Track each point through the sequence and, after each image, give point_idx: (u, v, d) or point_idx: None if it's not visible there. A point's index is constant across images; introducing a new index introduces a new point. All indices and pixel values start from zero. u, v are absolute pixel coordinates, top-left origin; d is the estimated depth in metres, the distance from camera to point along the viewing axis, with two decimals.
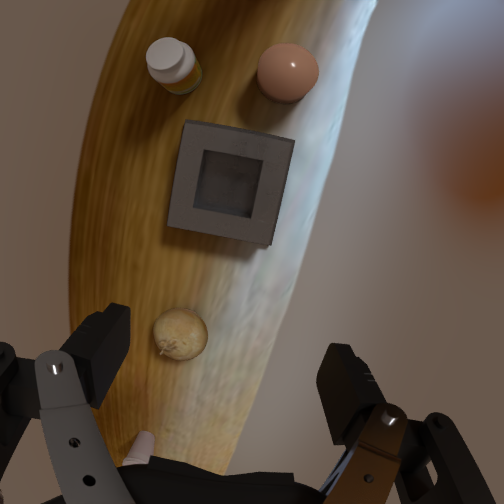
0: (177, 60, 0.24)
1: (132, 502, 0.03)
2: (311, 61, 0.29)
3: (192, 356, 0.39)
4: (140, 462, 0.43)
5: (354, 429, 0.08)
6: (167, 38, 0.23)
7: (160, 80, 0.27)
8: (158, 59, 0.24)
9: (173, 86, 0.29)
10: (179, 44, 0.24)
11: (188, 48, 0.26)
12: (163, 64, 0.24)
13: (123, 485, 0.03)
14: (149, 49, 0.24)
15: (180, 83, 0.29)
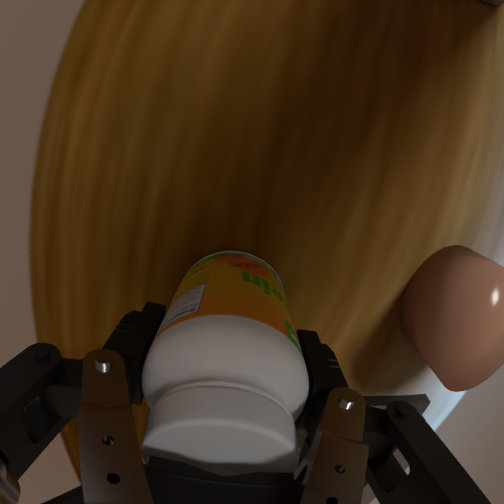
0: None
1: None
2: None
3: None
4: None
5: (313, 413, 0.08)
6: (225, 427, 0.05)
7: None
8: None
9: None
10: (285, 450, 0.06)
11: (295, 375, 0.08)
12: None
13: (147, 488, 0.04)
14: (149, 448, 0.06)
15: None
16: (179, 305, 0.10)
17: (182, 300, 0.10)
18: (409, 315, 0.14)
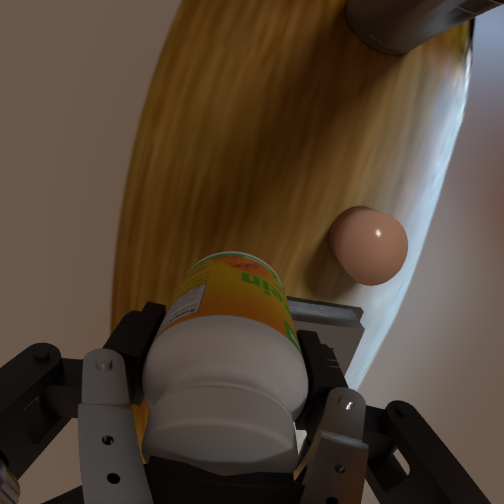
0: None
1: None
2: (402, 238, 0.26)
3: None
4: None
5: (313, 413, 0.08)
6: (224, 427, 0.05)
7: None
8: None
9: None
10: (285, 450, 0.06)
11: (294, 375, 0.08)
12: None
13: (147, 488, 0.04)
14: (150, 448, 0.06)
15: None
16: (179, 305, 0.10)
17: (182, 300, 0.10)
18: (331, 242, 0.30)
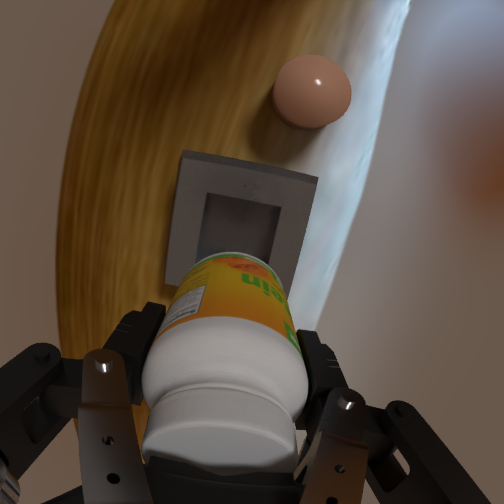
0: None
1: None
2: (342, 79, 0.23)
3: None
4: None
5: (313, 413, 0.08)
6: (224, 429, 0.05)
7: None
8: None
9: None
10: (285, 451, 0.06)
11: (295, 376, 0.08)
12: None
13: (147, 488, 0.04)
14: (149, 449, 0.06)
15: None
16: (179, 306, 0.10)
17: (182, 301, 0.10)
18: (272, 96, 0.27)
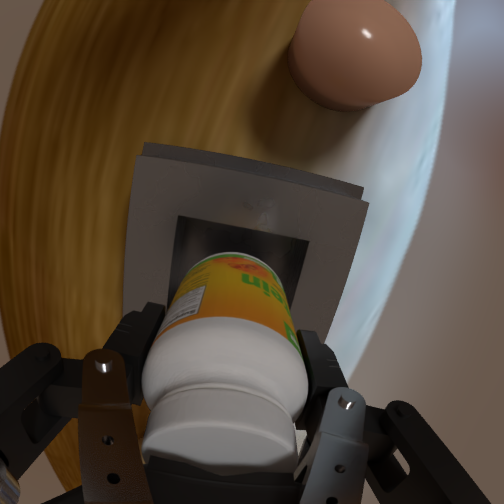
0: None
1: None
2: (407, 32, 0.11)
3: None
4: None
5: (313, 413, 0.08)
6: (224, 429, 0.05)
7: None
8: None
9: None
10: (284, 451, 0.06)
11: (294, 376, 0.08)
12: None
13: (147, 488, 0.04)
14: (149, 449, 0.06)
15: None
16: (179, 307, 0.10)
17: (182, 302, 0.10)
18: (290, 55, 0.15)
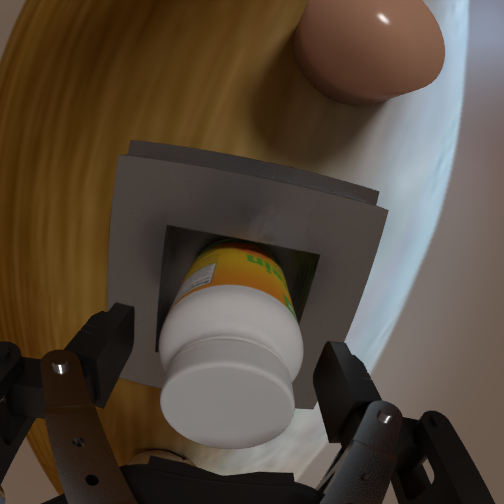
0: (275, 436, 0.08)
1: (134, 502, 0.03)
2: (428, 18, 0.09)
3: None
4: None
5: (349, 427, 0.08)
6: (234, 370, 0.07)
7: None
8: (209, 427, 0.08)
9: None
10: (283, 395, 0.07)
11: (292, 337, 0.10)
12: (228, 440, 0.08)
13: (126, 485, 0.03)
14: (168, 395, 0.07)
15: None
16: (193, 280, 0.11)
17: (195, 276, 0.12)
18: (296, 42, 0.13)
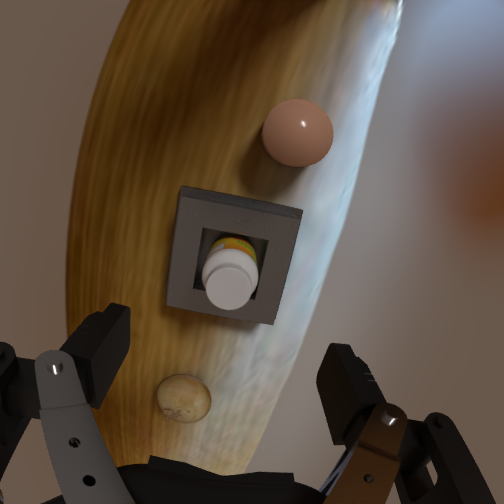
0: (245, 302, 0.26)
1: (132, 502, 0.03)
2: (325, 122, 0.27)
3: (196, 420, 0.37)
4: None
5: (354, 429, 0.08)
6: (231, 270, 0.25)
7: None
8: (222, 297, 0.26)
9: None
10: (247, 281, 0.25)
11: (252, 267, 0.27)
12: (228, 304, 0.26)
13: (123, 485, 0.03)
14: (209, 281, 0.25)
15: None
16: (215, 248, 0.29)
17: (216, 247, 0.30)
18: (261, 136, 0.31)
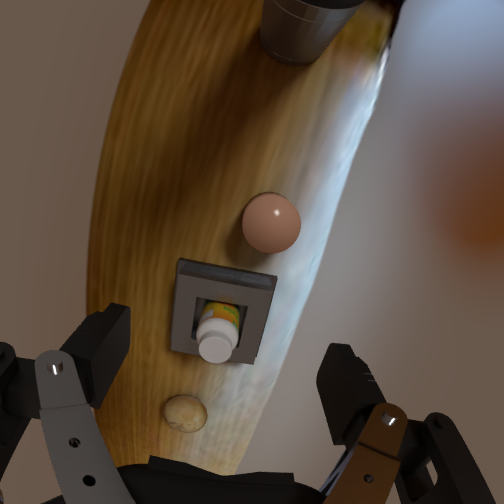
0: (227, 358, 0.34)
1: (132, 502, 0.03)
2: (294, 215, 0.35)
3: None
4: None
5: (354, 429, 0.08)
6: (217, 338, 0.33)
7: None
8: (210, 355, 0.34)
9: None
10: (228, 345, 0.34)
11: (233, 332, 0.36)
12: (215, 359, 0.34)
13: (123, 485, 0.03)
14: (201, 345, 0.34)
15: None
16: (206, 315, 0.38)
17: (207, 313, 0.38)
18: None
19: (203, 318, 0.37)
